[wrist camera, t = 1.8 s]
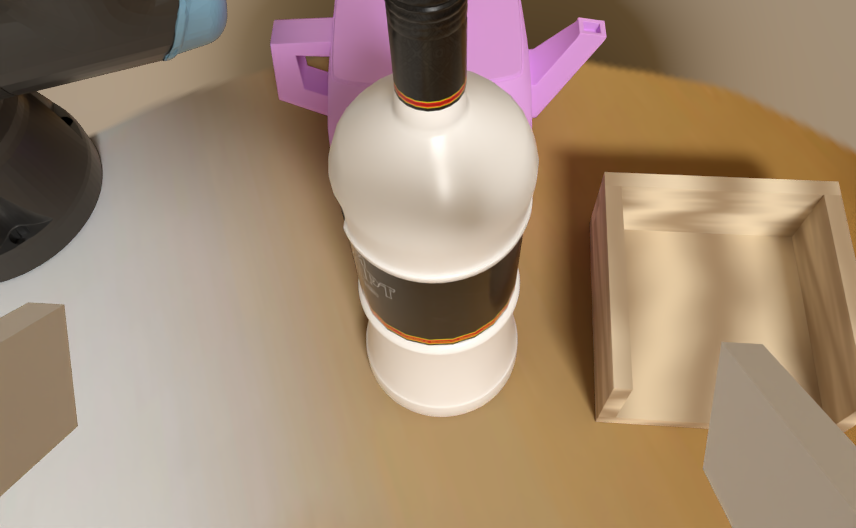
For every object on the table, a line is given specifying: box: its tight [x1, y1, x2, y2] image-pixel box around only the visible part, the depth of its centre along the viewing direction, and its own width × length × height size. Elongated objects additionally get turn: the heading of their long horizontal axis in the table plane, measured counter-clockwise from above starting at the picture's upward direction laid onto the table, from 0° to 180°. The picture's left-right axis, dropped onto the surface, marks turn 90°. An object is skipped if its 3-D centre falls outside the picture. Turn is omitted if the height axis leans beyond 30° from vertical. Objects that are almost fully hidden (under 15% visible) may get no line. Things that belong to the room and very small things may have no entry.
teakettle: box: [270, 0, 606, 147], centre depth 51 cm, size 17×17×12 cm
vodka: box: [328, 0, 539, 417], centre depth 35 cm, size 9×9×30 cm
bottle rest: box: [590, 172, 856, 433], centre depth 45 cm, size 14×14×6 cm
